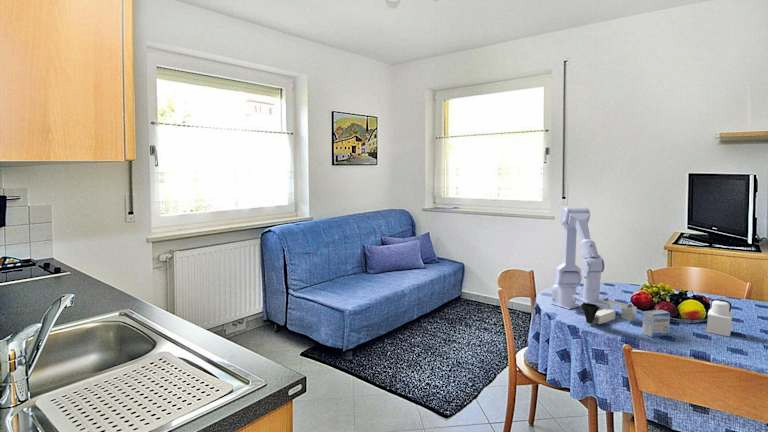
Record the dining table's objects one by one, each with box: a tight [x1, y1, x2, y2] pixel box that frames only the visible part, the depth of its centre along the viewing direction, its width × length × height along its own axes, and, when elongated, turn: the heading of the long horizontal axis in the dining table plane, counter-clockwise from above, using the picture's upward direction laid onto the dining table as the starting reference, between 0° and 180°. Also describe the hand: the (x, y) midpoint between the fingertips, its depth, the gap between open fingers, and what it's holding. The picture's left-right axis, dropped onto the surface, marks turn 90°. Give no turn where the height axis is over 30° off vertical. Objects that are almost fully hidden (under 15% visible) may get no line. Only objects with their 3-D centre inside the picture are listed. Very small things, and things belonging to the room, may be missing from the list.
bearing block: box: [598, 297, 637, 322], centre depth 187 cm, size 14×3×6 cm, turn 34°
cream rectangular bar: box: [591, 309, 616, 325], centre depth 182 cm, size 14×4×4 cm, turn 124°
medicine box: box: [641, 309, 671, 339], centre depth 167 cm, size 8×4×9 cm, turn 105°
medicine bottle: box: [705, 298, 734, 337], centre depth 169 cm, size 7×7×12 cm
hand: (589, 322), depth 177 cm, fingers closed
